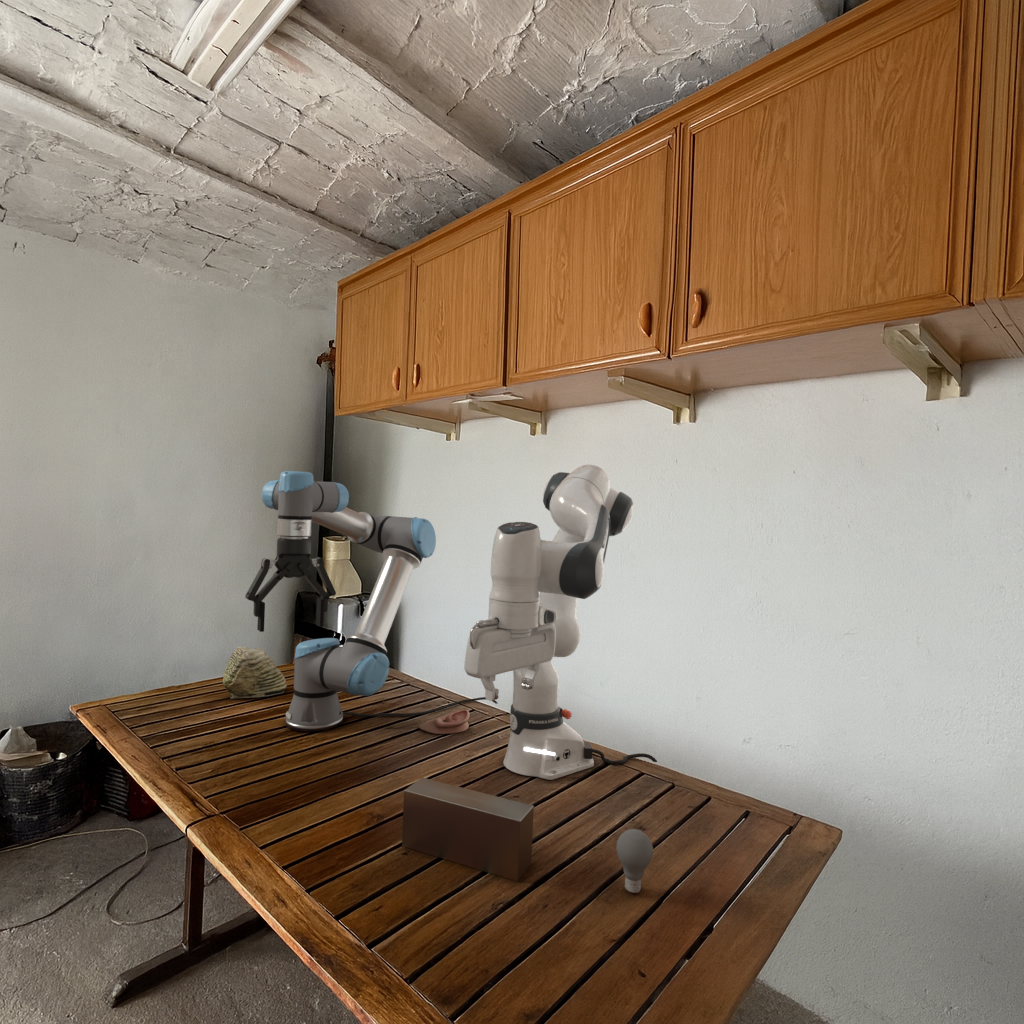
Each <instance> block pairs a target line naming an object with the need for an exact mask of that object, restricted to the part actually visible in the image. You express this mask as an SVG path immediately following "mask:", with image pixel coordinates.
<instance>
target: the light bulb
mask: <svg viewBox="0 0 1024 1024" xmlns="http://www.w3.org/2000/svg"><path fill="white" fill-rule="evenodd" d="M615 849H616V854H617V857H618V859H619V861H620V863H621V865H622V867H623V873H624V874H623V875H624V876H625V878H624V888H625V890H627V891H628V892H630V893H634V894H635V893H639V892H640V891H641V889H642V887H641V886H642V879H643V877H644V875H645V871H646V868H647V867H648V866H649V864H650V863H651V861H652V859H653V855H654V847H653V843H652V841H651V838H649V836H648V835H647V834H646V833H645V832H643V831H642V830H641V829H636V828H629V829H627V830H625V831H623V832H622V833H621V834H620V835H619V837H618V839H617V841H616V847H615Z"/></svg>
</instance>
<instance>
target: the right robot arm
mask: <svg viewBox="0 0 1024 1024" xmlns="http://www.w3.org/2000/svg"><path fill="white" fill-rule="evenodd" d="M542 494H543V495H542V496H543V498H542V503H543V506H544V508H545V509H546V510H547V511H549V513H550V516H551V518H552V520H553V522H554V523H555V525H556V526H557V527H558V528H559V529H558V530H557V532H556V534H555V536H554V537H553V539H552V540H546V539H544V540H543V539H541V532H540V529H539V528H540V527H539V525H537V524H535V523H532V522H526V521H513V522H506V523H503V524H501V525H499V526H498V527H497V528H496V530H495V533H494V538H493V544H492V548H491V549H492V550H491V556H490V557H491V558H490V577H491V589H490V592H489V595H488V618H487V619H486V620H483V619H481V620H478V621H476V623H474V625H473V626H472V627H471V628H470V630H469V636H468V640H467V644H466V650H465V657H464V671H465V673H466V674H467V676H470V677H473V678H476V679H479V680H480V681H481V683H482V685H483V689H485V690H484V697H485V698H486V699H487V701H490V702H493V700H495V701H497V700H498V699H499V692H500V690H499V688H496V687H495V684H494V682H495V681H496V676H498V675H500V674H505V673H508V672H512V677H513V679H512V704H511V705H510V713H509V729H510V731H509V738H508V743H507V748H506V752H505V755H504V757H503V763H502V764H503V766H504V767H505V768H506V769H507V770H509V771H510V772H513V773H514V774H518V775H522V776H527V777H536V778H540V779H543V780H548V781H554V780H556V779H560V778H562V777H565V776H568V775H572V774H574V773H577V772H581V771H584V770H588V769H590V768H593V767H594V766H595V761H594V758H593V754H597V755H599V756H600V758H601V761H602V762H604V763H605V764H608V765H613V766H614V765H624V764H625V763H626V762H627V761H628V760H629V759H635V758H647V759H649V760H651V761H652V762H653V763H658V760H657V759H656V758H655V757H654V756H652V755H651V754H648V753H643V752H640V753H632V754H627V755H625V756H623V758H622V759H620V760H619V759H618V760H612V759H611V760H610V759H607V758H606V757H605V754H604V752H602V751H601V750H600V749H595V748H593V747H592V744H591V742H590V741H589V742H588V741H584V739H583V737H582V736H581V735H580V734H579V732H577V731H576V730H575V729H574V728H572V727H571V726H570V725H569V724H567V723H566V722H565V721H564V719H565V720H570V719H571V718H572V715H573V713H572V711H570V710H568V709H567V708H563V707H561V706H559V687H560V678H559V674H558V672H557V669H556V668H555V667H554V664H553V661H552V660H553V658H567V657H569V656H571V655H572V654H574V653H575V652H576V650H577V649H578V648H579V645H580V643H581V640H582V630H581V626H580V624H579V622H578V616H577V610H578V600H579V599H582V600H586V599H588V598H590V597H592V595H594V594H595V593H596V592H598V591H599V590H600V589H601V587H602V583H603V580H604V575H605V559H606V554H607V550H608V545H609V539H610V537H615V536H617V535H619V534H622V533H623V531H624V530H625V529H627V527H628V526H629V525H630V523H631V522H632V519H633V516H634V502H633V499H632V497H630V496H629V495H628V494H626V493H625V492H623V491H617V490H616V489H614V488H612V487H611V482H610V478H609V476H608V474H607V473H606V471H605V470H604V469H603V468H601V467H599V466H598V465H595V464H583V465H581V466H578V467H576V468H575V469H574V470H572V471H571V472H562V471H560V472H556V473H554V474H553V475H551V477H550V478H549V479H548V481H547V482H546V484H545V486H544V489H543V493H542Z"/></svg>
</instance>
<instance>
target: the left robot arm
mask: <svg viewBox="0 0 1024 1024" xmlns="http://www.w3.org/2000/svg"><path fill="white" fill-rule="evenodd" d="M349 493H350V492H349V490H348V489H347V487H346V486H345V485H344V484H342V483H340V482H335V481H315V480H314V474H313V473H312V472H309V471H295V470H293V471H292V470H286V471H282V472H281V473H280V475H279V479H274V480H270V481H267V482H266V483H265V484H264V485H263V487H262V490H261V495H260V496H261V501H262V503H263V505H264V506H265V507H266V508H268V509H269V510H270V509H271V510H275V511H277V513H278V514H277V528H276V529H277V531H276V532H277V533H276V535H277V536H278V538H277V540H276V556H275V559H271V558H270V559H269V558H266V557H264V558H262V559H261V563H260V568H259V570H258V571H257V573H256V576H255V577H254V579H253V581H252V582H251V584H250V586H249V588H248V590H247V592H246V594H245V596H244V597H245V599H246V600H248V601H251V602H253V616H254V617H256V618H257V626H256V627H257V628H256V629H257V631H259V632H260V633H264V632H265V620H266V619H265V617H266V602H264V601H263V600H265V598H266V597H267V596H268V595H269V594H270V592H271V591H272V590H273V589H274V588H275V587H276V586H277V584H279V582H280V581H281V580H283V578H286V579H292V578H302V577H303V578H304V579H305V580H306V581H307V582H308V583H309V584H310V586H311V587H312V588H313V589H314V591H315V592H316V593H317V594H318V595H319V597H317V598H316V615H315V617H316V619H315V622H316V623H315V625H316V626H317V627H319V628H321V627H324V613H327V612H328V607H329V606H328V603H329V599H331V597H334V596H336V595H337V591H336V590H335V587H334V585H333V583H332V580H331V578H330V576H329V574H328V571H327V570H326V568H325V567H326V566H325V559H324V558H323V557H319V556H316V557H315V558H311V552H312V540H311V539H310V538H309V537H311V536H312V525H313V524H312V523H315V524H317V525H319V526H322V527H324V528H327V529H329V530H332V531H334V532H336V533H339V534H342V535H344V536H346V537H347V539H348V540H349V541H350V542H352V543H354V544H357V545H359V546H362V547H364V548H365V549H369V550H371V551H374V552H376V553H380V554H382V555H383V557H384V562H383V564H382V567H381V569H380V572H379V573H378V576H377V579H376V581H375V583H374V586H373V589H372V591H371V593H370V596H369V598H368V601H367V603H366V606H365V607H364V611H363V613H362V615H361V618H360V620H359V622H358V625H357V627H356V630H355V632H354V634H352V635H350V636H347V637H346V640H345V642H344V644H343V645H342V646H341V645H340V644H341V643H340V640H339V638H335V637H322V638H313V639H308V640H304V641H302V642H299V643H298V644H297V645H296V647H295V652H294V653H295V654H294V657H293V662H294V663H293V665H294V666H293V695H292V696H293V697H292V699H291V702H290V704H289V708H288V710H286V712H285V726H286V728H287V729H289V730H291V731H294V732H295V731H296V732H301V733H316V732H325V731H329V730H332V729H335V728H337V727H339V726H340V725H342V723H343V722H344V715H345V716H355V717H360V718H364V717H365V718H373V717H391V716H392V717H412V716H420V715H426V714H430V713H435V712H439V711H442V710H444V709H447V708H451V707H453V706H456V705H459V704H462V703H470V702H476V701H481V700H482V701H483V700H487V699H486V698H485V696H482V697H474V698H469V699H462V700H459V701H458V700H457V701H455V702H452V703H449V704H446V705H443V706H440V707H437V708H433V709H428V710H425V711H418V712H405V713H404V712H403V713H402V712H401V713H400V712H399V713H398V712H386V713H385V712H384V713H382V712H381V713H357V712H350V711H343V709H342V706H341V702H340V699H339V695H338V692H341V693H345V694H349V695H352V696H361V697H370V696H372V695H373V696H374V694H376V693H378V692H379V691H380V690H381V689H382V687H383V686H384V685H385V683H386V681H387V679H388V675H389V674H390V668H389V667H390V660H389V658H388V656H387V653H388V649H387V647H386V646H385V644H386V640H387V638H388V635H389V633H390V630H391V628H392V626H393V623H394V620H395V617H396V615H397V612H398V609H399V607H400V604H401V602H402V599H403V596H404V594H405V591H406V588H407V586H408V584H409V582H410V578H411V576H412V573H413V570H416V569H418V568H419V567H420V566H421V564H422V561H423V559H428V558H430V557H431V556H433V554H434V553H435V549H436V544H437V537H436V536H437V535H436V531H435V528H434V526H433V524H432V523H431V522H430V521H429V520H428V519H426V518H423V517H417V516H414V517H410V516H409V517H407V516H393V515H392V516H391V515H377V514H370V513H368V512H365V511H356V510H353V509H351V508H349V507H347V506H348V504H349V502H350V501H349V498H350V494H349ZM312 565H313V567H315V568H316V571H317V573H318V575H319V577H320V579H321V582H322V584H323V586H324V588H325V589H324V588H323V587H322V585H321V584H320V583H319V582H318V580H317V579H316V578H315V576H313V574H312V573H311V572H310V570H309V569H310V568H311V566H312ZM273 566H275V568H276V571H275V572H273V574H272V576H271V577H270V578H269V580H267V581H266V583H265V584H264V585H263V587H262V588H260V587H261V585H262V584H263V582H264V580H265V578H266V577H267V575H268V573H269V570H270V569H272V568H273ZM487 701H488V700H487ZM492 702H493V703H494V704H496V705H497V704H499V703H498V702H497V700H493V701H492Z"/></svg>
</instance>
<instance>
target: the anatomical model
mask: <svg viewBox="0 0 1024 1024" xmlns="http://www.w3.org/2000/svg"><path fill="white" fill-rule="evenodd" d="M470 715H471V714H470V711H469V710H468V709H461V710H457V711H454V712H450V713H447V714H445V715H442V716H439V717H437V718H436V717H435V718H432V719H429V720H427V721H424V722H422V723H421V724H420V725H419V726H418V728H419V730H421V731H423V732H427V733H430V734H434V735H445V734H447V735H448V734H455V733H456V734H457V733H462V732H465V731H467V730H468V729H469V726H470V724H469V722H468V721H469V720H470V717H471V716H470Z"/></svg>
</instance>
